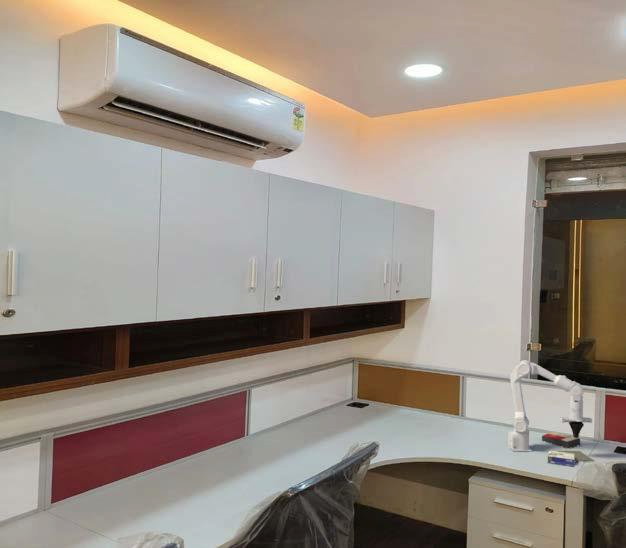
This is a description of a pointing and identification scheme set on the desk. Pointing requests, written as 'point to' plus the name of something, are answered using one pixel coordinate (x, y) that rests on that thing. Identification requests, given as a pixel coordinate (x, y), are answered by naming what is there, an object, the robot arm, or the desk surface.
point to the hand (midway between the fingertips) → (575, 437)
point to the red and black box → (561, 439)
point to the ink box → (561, 458)
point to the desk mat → (579, 455)
